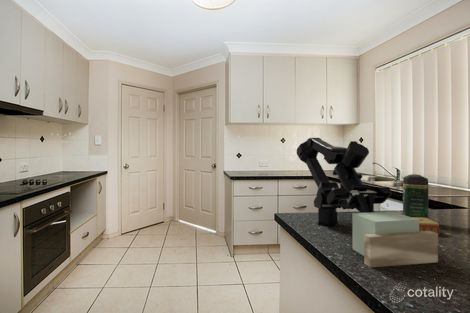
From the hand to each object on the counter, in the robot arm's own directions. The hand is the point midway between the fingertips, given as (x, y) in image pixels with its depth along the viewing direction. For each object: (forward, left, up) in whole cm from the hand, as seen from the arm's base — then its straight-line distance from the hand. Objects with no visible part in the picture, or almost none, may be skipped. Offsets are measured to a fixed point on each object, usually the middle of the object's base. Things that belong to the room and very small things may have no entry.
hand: (372, 220), depth 70 cm
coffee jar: (+16, +36, -8) cm, 40 cm away
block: (+3, -4, -8) cm, 9 cm away
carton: (+11, +24, -8) cm, 27 cm away
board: (+6, -8, -8) cm, 13 cm away
